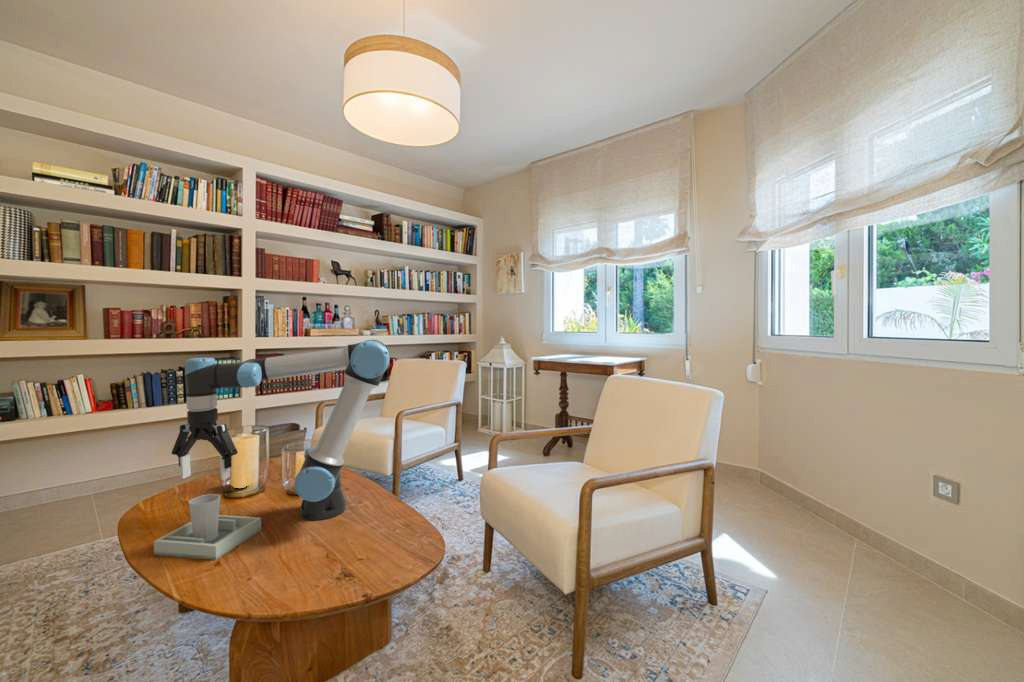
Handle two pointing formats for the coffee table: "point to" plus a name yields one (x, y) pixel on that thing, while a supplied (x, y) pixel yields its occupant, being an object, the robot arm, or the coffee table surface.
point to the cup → (205, 516)
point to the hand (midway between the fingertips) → (205, 477)
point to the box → (229, 537)
